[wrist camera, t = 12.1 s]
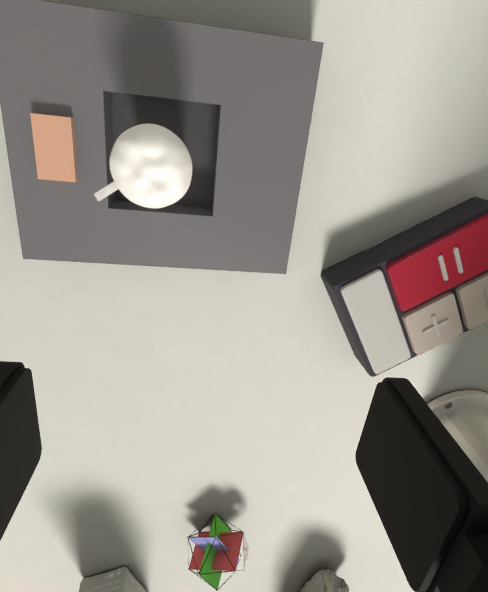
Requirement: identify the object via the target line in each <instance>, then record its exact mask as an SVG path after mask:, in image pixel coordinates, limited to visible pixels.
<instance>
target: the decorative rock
mask: <svg viewBox="0 0 488 592" xmlns="http://www.w3.org/2000/svg"><path fill="white" fill-rule="evenodd" d="M300 592H349V588H348V585H347V584H346V583H345V580H344V579H342V578H340V577H338V576H337V575H336V574H335V573H334V572H333V571H332V570H329V569H328V568H326V569H325V570H322V571H319V572H317V573H316V574H315V575H314V576H313V577H312V579H311V580H310V581H307V582H306V584H305V585H304V587H303V588H302V589H301V591H300Z"/></svg>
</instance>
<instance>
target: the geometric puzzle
mask: <svg viewBox="0 0 488 592" xmlns="http://www.w3.org/2000/svg"><path fill="white" fill-rule="evenodd" d="M213 516H214V519H213V522H212V526H211V530H210V533H209V532H201V531H202V530H201V531H200V532H199V535H198V537H190V536H188V537H187V538H189V539H190V540H191V541H192V542H194V543H195V544H196V545H195V549H194V552H192V554H193V556H192V559H191V563H190V566H189V569H188V570H190V569H194V570H197V571H198V570H200V571H199V573H196V572H195V573H196V574H198V575H200V576H201V577H202V578H203V579H204V580H205V582H206V581H207V582H208V583H209V585H210V586H212V587H213V588H215V589H216V590H217V591H218V590H219V589H220V588H221V587H220V588H219V589H218V586H219V581H220V577H221V572H222V570H225V571H224V572H231V571H240V570H244V569H245V566H246V563H247V560H248V545H247V542H246V539H245V536H244V532H241V530H240V531H238V532H232V531H235V530H232V531H231V529H230V528H229V527H228V526H227V525H226V524H225V523H224V522H223V521H222V520H221V519H220V518H219V517H220V516H219V517H218V516H217V515H216V514H215V513H214V515H213ZM213 516H211V517H210V518H212V517H213ZM222 519H223V518H222ZM210 520H211V519H210ZM210 520H209V521H210ZM209 521H208V522H209ZM225 521H226V520H225ZM208 522H207V523H208ZM228 523H229V522H228ZM203 524H204V523H203ZM203 524H202V525H203ZM231 525H232V524H231ZM205 526H206V525H205ZM205 526H204V527H205ZM204 527H203V528H204ZM234 527H235V526H234ZM237 529H238V528H237ZM196 530H197V529H196ZM196 530H195V531H196ZM195 531H194V532H195ZM197 534H198V533H197ZM194 535H196V534H194ZM191 536H193V535H191ZM242 536H243V540H244V545H243V554H242V556H241V555H240V556H241V559H240V560H239V559H238V556H239V553H240V552H239V551H240V546H241V541H242ZM189 539H188V540H189ZM189 544H190V542H189ZM190 547H191V545H190ZM191 551H192V549H191ZM188 562H189V557H188ZM237 564H238V566H237ZM236 566H237V568H236ZM190 571H192V570H190ZM193 573H194V571H193ZM195 573H194V574H195ZM198 575H197V576H198ZM198 577H199V576H198ZM202 578H201V579H202ZM203 579H202V580H203ZM228 579H229V578H228ZM228 579H227V580H228ZM227 580H226V581H227ZM226 581H225V582H226ZM207 582H206V583H207ZM225 582H224V583H225Z"/></svg>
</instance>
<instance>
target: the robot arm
mask: <svg viewBox="0 0 488 592" xmlns="http://www.w3.org/2000/svg"><path fill="white" fill-rule="evenodd" d="M41 450H42V447H41V439H40V431H39V424H38V416H37V409H36V401H35V394H34V387H33V379H32V373H31V370H30V369H29V368H25V367H24V365H23V363H21V362H2V361H0V540H1V538H2V536H3V534H4V532H5V530H6V528H7V526H8V524H9V522H10V520H11V518H12V516H13V514H14V512H15V509H16V507H17V505H18V503H19V501H20V499H21V497H22V495H23V493H24V491H25V489H26V487H27V485H28V483H29V481H30V479H31V477H32V475H33V473H34V471H35V468H36V466H37V464H38V462H39V460H40V456H41ZM356 463H357V466H358V468H359V471H360V473H361V475H362V477H363V480H364V482H365V484H366V487H367V489H368V491H369V493H370V496H371V498H372V500H373V503H374V505H375V507H376V510H377V512H378V514H379V516H380V519H381V521H382V523H383V526H384V528H385V530H386V532H387V535H388V537H389V539H390V542H391V544H392V546H393V549H394V551H395V553H396V555H397V558H398V560H399V562H400V565H401V567H402V569H403V571H404V574H405V576H406V578H407V581H408V583H409V585H410V587H411V588H412V589H413V590H414V591H415V592H488V393H486V392H482V391H477V390H463V391H456V392H452V393H449V394H445V395H443V396H441V397H438V398H436V399H434V400H433V401H431V402H429V403H428V404H427V403H426V402H425V401H424V399H423V398H422V397H421V396H420V394H419V393H418V392H417V390H416V389H415V388H414V387H413V385H412V384H411V383H410V381H409V380H408V379H405V378H385V379H384V380H383V381H382V382H380V383H378V384H377V386H376V389H375V393H374V396H373V399H372V402H371V405H370V409H369V412H368V415H367V418H366V421H365V425H364V428H363V431H362V434H361V437H360V441H359V444H358V447H357V450H356Z"/></svg>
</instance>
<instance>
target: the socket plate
mask: <svg viewBox="0 0 488 592" xmlns="http://www.w3.org/2000/svg"><path fill="white" fill-rule="evenodd" d="M322 49H323V43H322V42H315V41H309V40H302V39H295V38H289V37H282V36H275V35H268V34H262V33H255V32H248V31H242V30H235V29H228V28H221V27H215V26H208V25H201V24H195V23H188V22H181V21H174V20H168V19H161V18H154V17H148V16H141V15H134V14H127V13H121V12H114V11H107V10H101V9H94V8H87V7H80V6H74V5H67V4H60V3H54V2H47V1H40V0H0V104H1V111H2V118H3V125H4V132H5V138H6V145H7V152H8V159H9V166H10V173H11V180H12V186H13V193H14V200H15V207H16V214H17V221H18V227H19V234H20V241H21V248H22V255H23V259H37V260H54V261H72V262H89V263H106V264H123V265H141V266H158V267H175V268H192V269H210V270H227V271H244V272H262V273H279V274H286V269H287V263H288V257H289V251H290V245H291V239H292V233H293V226H294V220H295V214H296V208H297V202H298V196H299V190H300V184H301V178H302V172H303V165H304V159H305V153H306V147H307V141H308V135H309V129H310V123H311V117H312V110H313V104H314V98H315V92H316V86H317V80H318V74H319V68H320V62H321V55H322ZM140 124H156V125H160V126H162V127H165V128H167V129H168V130H170V131H172V132H173V133H174V134H176V135H177V136H178V137H179V138H180V139H181V140H182V142H183V143H184V144H185V146H186V148H187V150H188V152H189V154H190V157H191V160H192V178H191V183H190V186H189V188H188V190H187V192H186V193H185V195H184V196H183V197H182V198H181V199H180V200H178V201H177V202H175V203H174V204H171V205H169V206H166V207H163V208H146V207H143V206H139V205H137V204H135V203H133V202H131V201H130V200H128V199H127V198H126V197H125V196H124V195H123V194H122V193H121V191H120V190H119V189H118V190H116V191H115V192H113V193H112V194H110V195H109V196H107V197H105V198H104V199H102V200H101V201H99V202H98V201H97V200H96V198H95V197H94V195H93V194H94V193H96V192H97V191H99V190H100V189H102V188H104V187H105V186H107V185H109V184H110V183H112V182H114V180H113V177H112V175H111V171H110V165H109V161H110V154H111V151H112V148H113V146H114V144H115V142H116V140H117V138H118V137H119V136H120V135H121V134H122V133H123V132H124V131H126V130H128V129H129V128H132V127H134V126H136V125H140Z"/></svg>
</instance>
